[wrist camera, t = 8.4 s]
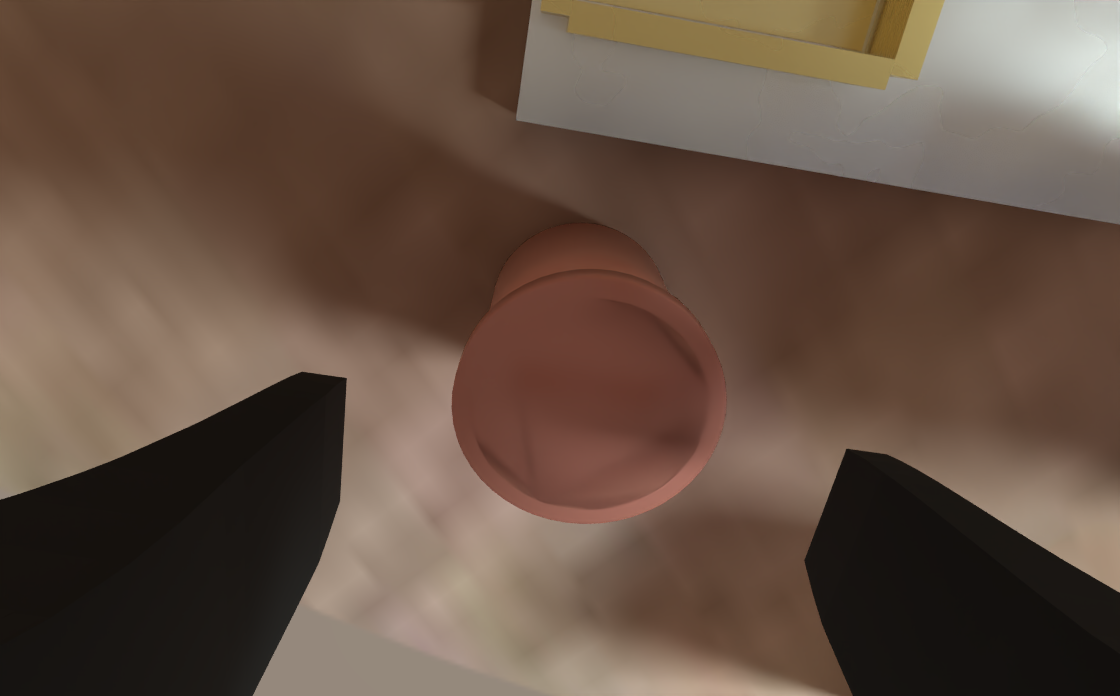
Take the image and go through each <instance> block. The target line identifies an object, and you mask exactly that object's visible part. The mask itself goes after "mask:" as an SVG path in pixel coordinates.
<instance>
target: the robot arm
mask: <svg viewBox="0 0 1120 696" xmlns="http://www.w3.org/2000/svg"><path fill="white" fill-rule="evenodd" d="M346 381H347V378H342V377H335V376H328V375H321V374H314V373H307V372H300V373H298V374H295V375H293V376H290V377H288V378H286V379H284V380H282V381H280V382H278V383H276V384H274V385H272V386H270V387H268V388H266V389H264V390H262V391H260V392H258V393H256V394H254V395H252V396H250V397H248V398H246V399H244V400H242V401H240V402H238V403H236V404H234V405H232V406H230V407H228V408H226V409H224V410H222V411H220V412H218V413H216V414H214V415H212V416H210V417H208V418H206V419H204V420H202V421H200V422H198V423H196V424H194V425H192V426H190V427H188V428H185V429H183V430H181V431H179V432H176V433H174V434H172V435H170V436H167V437H165V438H163V439H161V440H158V441H156V442H154V443H152V444H149V445H147V446H145V447H143V448H140V449H138V450H136V451H134V452H131V453H129V454H127V455H125V456H122V457H120V458H117V459H115V460H112V461H110V462H108V463H105V464H103V465H100V466H97V467H95V468H92V469H89V470H87V471H84V472H81V473H79V474H76V475H73V476H70V477H67V478H64V479H62V480H59V481H56V482H53V483H50V484H47V485H44V486H41V487H39V488H36V489H33V490H30V491H27V492H24V493H21V494H18V495H14V496H11V497H8V498H5V499H1V500H0V696H253V694H254V692H255V690H256V688H257V686H258V684H259V682H260V680H261V678H262V676H263V674H264V672H265V670H266V668H267V666H268V664H269V661H270V660H271V658H272V656H273V654H274V652H275V650H276V648H277V646H278V644H279V642H280V640H281V638H282V636H283V634H284V632H285V630H286V628H287V626H288V624H289V622H290V620H291V618H292V616H293V614H294V612H295V610H296V608H297V606H298V604H299V602H300V600H301V598H302V596H303V594H304V592H305V590H306V588H307V586H308V584H309V582H310V580H311V578H312V576H313V574H314V572H315V569H316V567H317V565H318V563H319V561H320V558H321V555H322V552H323V549H324V547H325V544H326V541H327V538H328V535H329V532H330V529H331V526H332V523H333V520H334V517H335V514H336V511H337V508H338V505H339V502H340V490H341V472H342V454H343V435H344V417H345V399H346ZM804 561H805V565H806V569H807V572H808V576H809V580H810V584H811V588H812V592H813V596H814V599H815V602H816V606H817V609H818V612H819V616H820V619H821V622H822V625H823V627H824V630H825V632H826V635H827V637H828V639H829V642H830V644H831V646H832V649H833V651H834V653H835V656H836V658H837V660H838V663H839V665H840V667H841V669H842V672H843V674H844V676H845V679H846V681H847V683H848V685H849V688H850V690H851V692H852V694H853V696H1120V593H1119V592H1117V591H1116V590H1114V589H1112V588H1110V587H1109V586H1107V585H1105V584H1104V583H1102V582H1100V581H1098V580H1097V579H1095V578H1093V577H1092V576H1090V575H1088V574H1086V573H1085V572H1083V571H1081V570H1079V569H1078V568H1076V567H1074V566H1073V565H1071V564H1069V563H1067V562H1066V561H1064V560H1062V559H1061V558H1059V557H1057V556H1056V555H1054V554H1053V553H1051V552H1049V551H1048V550H1046V549H1044V548H1043V547H1041V546H1039V545H1038V544H1036V543H1034V542H1033V541H1031V540H1030V539H1028V538H1026V537H1025V536H1023V535H1022V534H1020V533H1018V532H1017V531H1015V530H1014V529H1012V528H1010V527H1009V526H1007V525H1006V524H1004V523H1002V522H1001V521H999V520H998V519H996V518H995V517H993V516H991V515H990V514H988V513H987V512H985V511H983V510H982V509H980V508H979V507H977V506H976V505H974V504H972V503H971V502H969V501H968V500H966V499H964V498H963V497H961V496H960V495H958V494H956V493H955V492H953V491H952V490H950V489H949V488H947V487H945V486H944V485H942V484H940V483H939V482H937V481H935V480H934V479H932V478H930V477H929V476H927V475H925V474H924V473H922V472H920V471H918V470H917V469H915V468H913V467H911V466H909V465H908V464H906V463H904V462H902V461H900V460H898V459H896V458H893V457H891V456H889V455H887V454H880V453H873V452H866V451H859V450H851V449H846V452H845V454H844V457H843V460H842V462H841V465H840V468H839V470H838V473H837V476H836V478H835V481H834V484H833V486H832V489H831V491H830V494H829V497H828V499H827V502H826V505H825V507H824V510H823V513H822V515H821V518H820V521H819V523H818V526H817V529H816V531H815V534H814V537H813V539H812V542H811V545H810V547H809V550H808V553H807V555H806V558H805V560H804Z"/></svg>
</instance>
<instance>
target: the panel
mask: <svg viewBox="0 0 1120 696" xmlns="http://www.w3.org/2000/svg"><path fill="white" fill-rule="evenodd" d="M516 120H517V121H523V122H529V123H534V124H540V125H546V126H552V127H558V128H563V129H569V130H575V131H581V132H586V133H592V134H598V135H604V136H610V137H615V138H621V139H627V140H633V141H639V142H644V143H650V144H656V145H662V146H668V147H673V148H679V149H685V150H691V151H697V152H702V153H708V154H714V155H720V156H726V157H731V158H737V159H743V160H749V161H754V162H760V163H766V164H772V165H778V166H783V167H789V168H795V169H801V170H807V171H812V172H818V173H824V174H830V175H836V176H841V177H847V178H853V179H859V180H865V181H870V182H876V183H882V184H888V185H893V186H899V187H905V188H911V189H917V190H922V191H928V192H934V193H940V194H946V195H951V196H957V197H963V198H969V199H975V200H980V201H986V202H992V203H998V204H1004V205H1009V206H1015V207H1021V208H1027V209H1033V210H1038V211H1044V212H1050V213H1056V214H1061V215H1067V216H1073V217H1079V218H1085V219H1090V220H1096V221H1102V222H1108V223H1114V224H1119V225H1120V0H532V5H531V13H530V20H529V27H528V35H527V42H526V49H525V57H524V64H523V71H522V79H521V86H520V93H519V101H518V108H517V115H516Z"/></svg>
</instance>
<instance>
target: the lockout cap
mask: <svg viewBox="0 0 1120 696" xmlns="http://www.w3.org/2000/svg"><path fill="white" fill-rule="evenodd" d="M726 402H727V396H726V384H725V379H724V375H723V370H722V366H721V364H720V361H719V359H718V356H717V354H716V351H715V350H714V348H713V346H712V344H711V342H710V340H709V338H708V336H707V334H706V333H705V331H704V329H703V328H702V326H701V324H700V323H699V321H698V320H697V319H696V318H695V316H694V315H693V314H692V313H691V311H690V310H689V309H688V308H687V307H686V306H684V305H683V304H682V303H681V302H680V301H679V300H678V299H677V298H676V297H674V296H673V295H671V294H670V293H668V291H667V289H666V286H665V284H664V282H663V280H662V278H661V275H660V273H659V271H658V269H657V267H656V265H655V264H654V262H653V260H652V259H651V257H650V256H649V255H648V254H647V252H646V251H645V250H644V249H643V248H642V247H641V246H640V245H639V244H638V243H636V242H635V241H634V240H632V239H631V238H629V237H628V236H626V235H624V234H623V233H621V232H619V231H617V230H614V229H611V228H609V227H606V226H601V225H597V224H590V223H570V224H564V225H559V226H555V227H552V228H549V229H546V230H544V231H542V232H540V233H538V234H536V235H534V236H533V237H531V238H529V239H528V240H527V241H525V242H524V243H523V244H522V245H520V246H519V247H518V248H517V249H516V250H515V251H514V252H513V254H512V255H511V256H510V257H509V259H508V260H507V261H506V263H505V264H504V266H503V268H502V270H501V272H500V274H499V276H498V279H497V282H496V285H495V289H494V294H493V298H492V302H491V307H490V310H489V311H488V312H487V313H486V314H485V315H484V316H483V318H482V319H481V320H480V322H479V323H478V325H477V326H476V327H475V329H474V330H473V332H472V334H471V335H470V337H469V339H468V341H467V343H466V345H465V348H464V350H463V353H462V356H461V359H460V362H459V365H458V369H457V372H456V376H455V381H454V386H453V391H452V415H453V424H454V428H455V432H456V436H457V439H458V442H459V444H460V447H461V449H462V451H463V454H464V455H465V457H466V459H467V460H468V462H469V464H470V466H471V467H472V468H473V470H474V471H475V472H476V473H477V475H478V476H479V477H480V479H481V480H482V481H483V482H484V483H485V484H486V485H487V486H489V487H490V488H491V489H492V490H493V491H494V492H495V493H497V494H498V495H499V496H501V497H502V498H503V499H505V500H506V501H508V502H510V503H511V504H513V505H515V506H516V507H518V508H520V509H522V510H525V511H527V512H529V513H532V514H534V515H537V516H540V517H544V518H547V519H550V520H556V521H561V522H566V523H579V524H591V523H605V522H612V521H618V520H622V519H626V518H630V517H633V516H636V515H639V514H641V513H644V512H647V511H649V510H651V509H653V508H655V507H657V506H659V505H661V504H663V503H664V502H666V501H667V500H669V499H670V498H672V497H673V496H675V495H676V494H678V493H679V492H680V491H681V490H682V489H684V488H685V487H686V486H687V485H688V484H689V483H690V482H691V481H692V480H693V479H694V478H695V477H696V476H697V475H698V474H699V473H700V471H701V470H702V469H703V467H704V466H705V464H706V463H707V462H708V460H709V459H710V457H711V455H712V453H713V451H714V449H715V448H716V446H717V443H718V440H719V438H720V435H721V432H722V429H723V425H724V420H725V415H726Z"/></svg>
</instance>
